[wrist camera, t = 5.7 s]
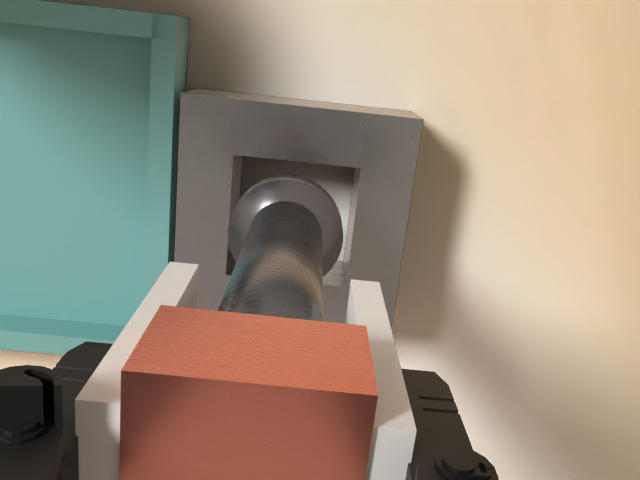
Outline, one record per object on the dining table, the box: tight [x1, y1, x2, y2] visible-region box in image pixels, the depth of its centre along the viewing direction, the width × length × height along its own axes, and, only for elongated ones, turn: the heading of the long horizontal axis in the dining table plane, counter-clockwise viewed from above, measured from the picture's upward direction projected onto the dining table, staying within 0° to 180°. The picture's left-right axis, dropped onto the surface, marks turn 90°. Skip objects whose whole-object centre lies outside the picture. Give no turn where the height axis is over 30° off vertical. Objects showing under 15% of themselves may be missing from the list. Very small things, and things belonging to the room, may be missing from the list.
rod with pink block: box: [119, 175, 378, 480], centre depth 17 cm, size 4×4×15 cm
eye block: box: [174, 88, 423, 328], centre depth 28 cm, size 10×10×4 cm
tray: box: [0, 0, 189, 355], centre depth 28 cm, size 16×13×2 cm
